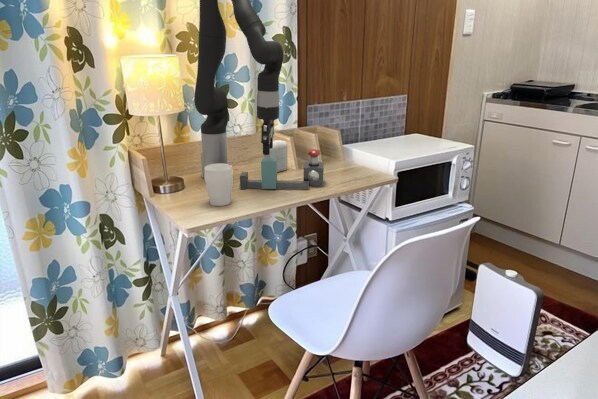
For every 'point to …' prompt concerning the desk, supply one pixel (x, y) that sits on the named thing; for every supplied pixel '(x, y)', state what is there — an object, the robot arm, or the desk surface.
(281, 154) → the white rounded block
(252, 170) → the desk surface
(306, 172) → the rail unit
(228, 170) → the cup
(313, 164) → the plunger
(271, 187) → the carriage
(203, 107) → the robot arm
